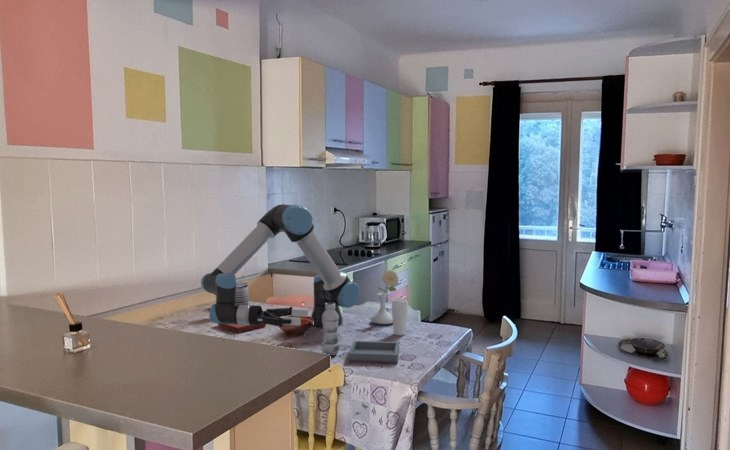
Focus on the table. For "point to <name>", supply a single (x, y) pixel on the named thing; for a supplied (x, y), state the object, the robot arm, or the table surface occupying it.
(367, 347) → the tray
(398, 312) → the drinking glass
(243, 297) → the can
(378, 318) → the flower in vase
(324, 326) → the silver metal bottle
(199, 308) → the table surface
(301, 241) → the robot arm
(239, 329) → the plant saucer
